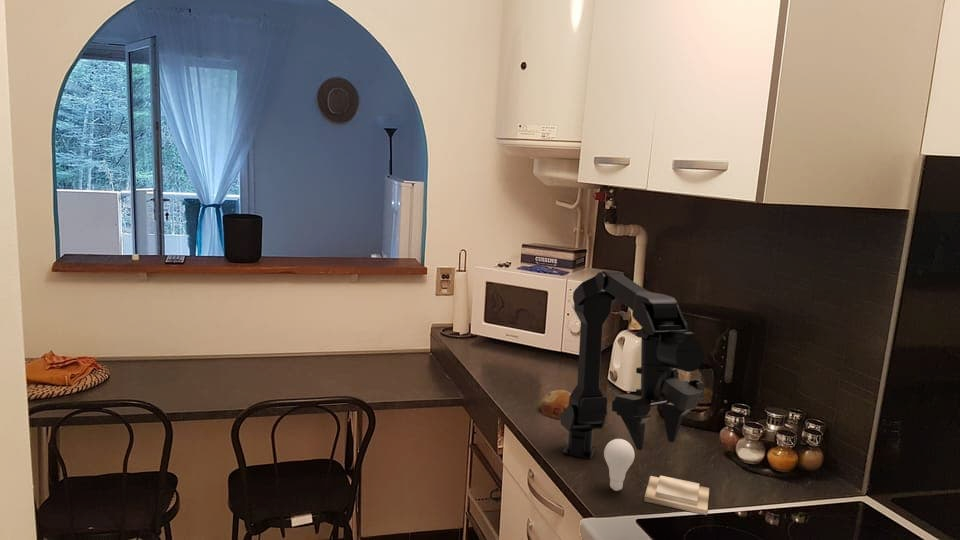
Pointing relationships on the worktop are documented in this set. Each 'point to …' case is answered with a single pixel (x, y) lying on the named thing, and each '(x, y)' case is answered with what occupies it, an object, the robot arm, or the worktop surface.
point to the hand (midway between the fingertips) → (655, 445)
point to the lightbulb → (618, 461)
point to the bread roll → (555, 403)
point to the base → (677, 494)
